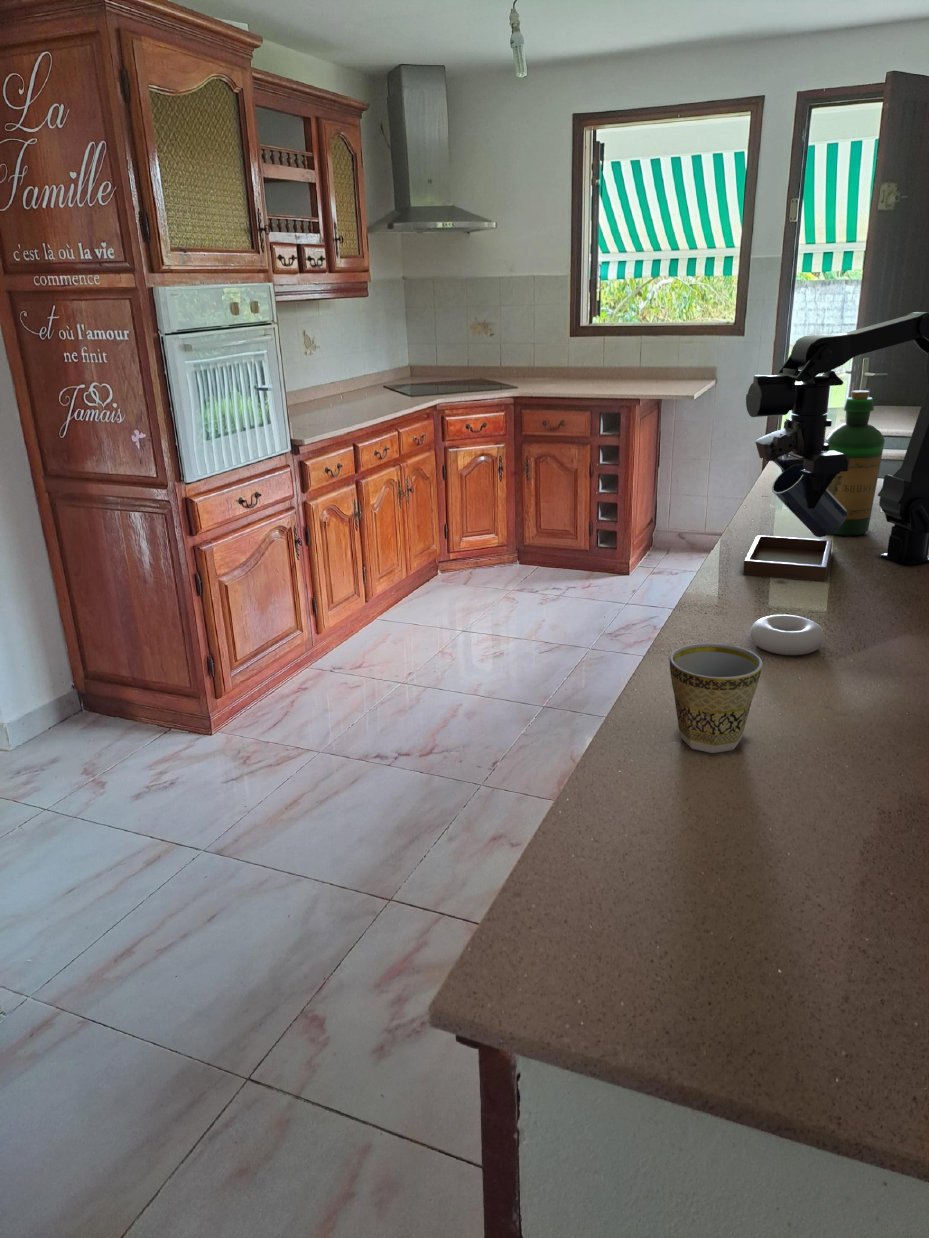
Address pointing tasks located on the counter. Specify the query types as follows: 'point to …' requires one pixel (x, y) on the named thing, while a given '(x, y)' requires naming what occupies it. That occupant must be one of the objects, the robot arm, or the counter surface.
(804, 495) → the cup
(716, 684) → the ceramic cup
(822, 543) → the tray
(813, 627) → the donut
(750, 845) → the counter surface
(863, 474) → the bottle
